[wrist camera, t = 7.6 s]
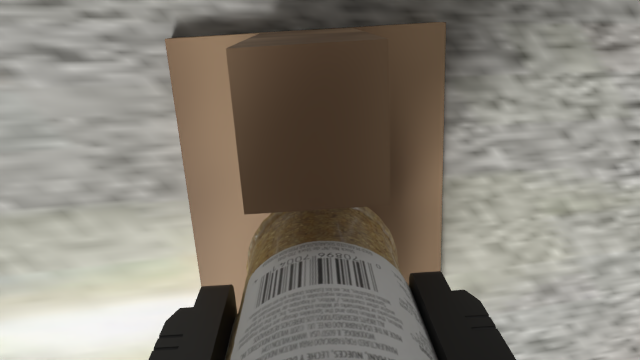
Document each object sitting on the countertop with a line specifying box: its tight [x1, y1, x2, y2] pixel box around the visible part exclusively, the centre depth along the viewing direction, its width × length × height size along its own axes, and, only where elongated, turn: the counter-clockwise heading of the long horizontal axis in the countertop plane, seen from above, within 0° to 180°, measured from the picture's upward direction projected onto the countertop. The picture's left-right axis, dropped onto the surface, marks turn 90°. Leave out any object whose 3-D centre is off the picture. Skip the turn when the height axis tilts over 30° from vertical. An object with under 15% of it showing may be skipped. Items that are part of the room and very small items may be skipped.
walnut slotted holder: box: [165, 22, 446, 314], centre depth 15 cm, size 9×13×8 cm
